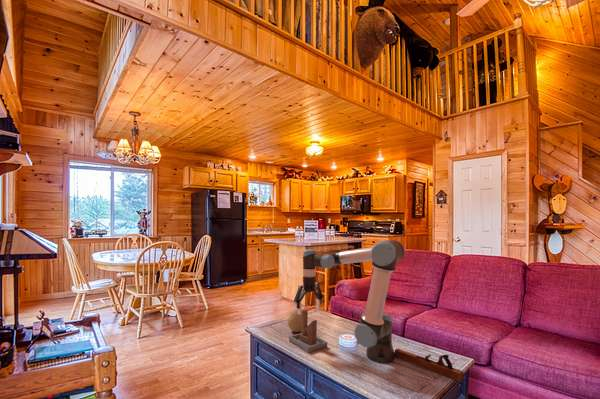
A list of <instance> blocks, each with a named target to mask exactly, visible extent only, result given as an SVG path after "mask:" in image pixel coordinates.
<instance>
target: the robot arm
mask: <svg viewBox="0 0 600 399" xmlns="http://www.w3.org/2000/svg"><path fill="white" fill-rule="evenodd" d="M302 253H303V254H302V285H301V284H298V288H297V290H296V294H295V297H294V299H293V302H294V303H296V308H297V309H298V314H299V315H301V309H302V300H303V298H304V297H305V295H306V294H308V293H313V295H315V297H316V299H315V310H316V311H318V312H320V311H321V304H322V303H321V302H322V300H323V299H324V295H323V291H322V289H321V287H320V283H319V282H316V275H317V274H316V272H317V270H316V267H317V268H323V269H331V268H333V267H334V266H340V265H346V264H354V263H355V264H356V263H364V262H371V266H372V267H373V272H372V278H371V282H370V287H369V291H368V295H367V302H366V304H365V310H364V312H363V313H362V314H361V315H360V319H359V324H357V325H356V327H355V328H354V334H353V335H354V337H355V339H356V341H357V343H358V344H359V345H360V346H362V347H364V348H366V351H365V352H366V357H367V358H368V359H369V360H370V361H372V362H377V363H382V364H385V363H386V364H388V363H392V362H394V361H395V360H396V358H395V349H394V346H393V339H392V338H393V336H392V335H393V316H391V314H388V313H386V312H384V310H385V304H386V300H387V295H388V291H389V285H390V281H391V275H392V273H394V272H395V271H396V268H397V263H398V262H400V261H401V260H402V259H403V258H404V256H405V254H406V249H405V246H404V245H403V244H402V243H401V242H400V241H399V240H397V239H396V240H395V239H390V240H380V241H378V242H376V243H375V244H374V245H373V246H369V247H364V248H363V247H362V248H356V249H349V250H344V251H336V252H335V251H334V252H329V253H317V252H316V250H315V249H304V250H303V251H302Z"/></svg>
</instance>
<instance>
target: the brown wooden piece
mask: <svg viewBox="0 0 600 399" xmlns="http://www.w3.org/2000/svg"><path fill="white" fill-rule="evenodd" d="M308 314H309V310H308V309H307V308H306V309H305V308H304V309H303V308H302V326H301V331H300V333H301V334H300V333H299V334H300V340H301V341H303V342H305V343H307V344H309V345H315V344H316V336H317V330H318V327H317V326H318V320H317V319H314V320H312V321H311V322H309V324H308V318H309V317H308V316H309V315H308ZM307 332H308V334H307Z"/></svg>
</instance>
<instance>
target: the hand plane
mask: <svg viewBox="0 0 600 399" xmlns="http://www.w3.org/2000/svg"><path fill="white" fill-rule="evenodd" d="M394 353H395V359H398V360H401V361H404V362H406V363H408V364H411V365H414V366H416V367H419V368H422V369H424V370H427V371H429V372H432V373H434V374H438V375H440V376H442V377H445V378H447V379H451V380H453V381H457V382H459V383H462V382H463V381H464V376H465V375H464V371H462V370H460V369H457V368H455V367H453V363H452V362H451V360H450V358H449V357H450V355H449V354H441V355H439V357H438V361H435V360H432V359H429V358H431V357H432V354H428V355H426V356H425V357H423V356H420V355H418V354H416V353H413V352H409V351H406V350H403V349H401V348H398V347H397V348H395V349H394ZM443 360H444V361H445V363H446V364H445V363H444V361H443Z"/></svg>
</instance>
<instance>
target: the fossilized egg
mask: <svg viewBox="0 0 600 399" xmlns="http://www.w3.org/2000/svg"><path fill="white" fill-rule="evenodd" d="M302 310H303V308H301V315H299V314H298V309H297V307H295V308H293V309H291V310H290V312H289V314H288V316H287V320H286V322H287V326H288V328H289V329H290V330H291V331H292V332H294V333H301V326H302Z"/></svg>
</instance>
